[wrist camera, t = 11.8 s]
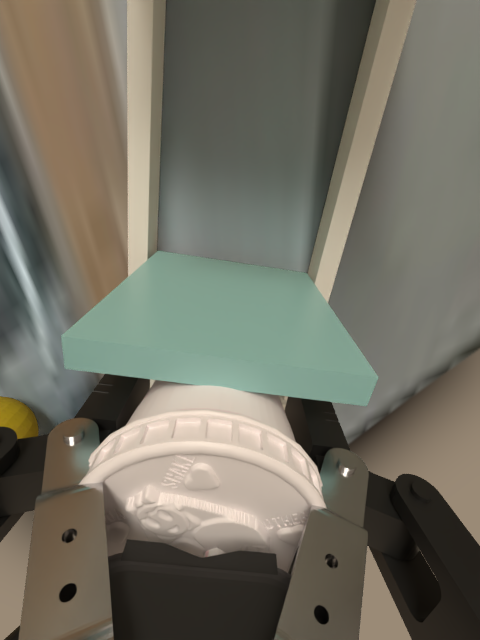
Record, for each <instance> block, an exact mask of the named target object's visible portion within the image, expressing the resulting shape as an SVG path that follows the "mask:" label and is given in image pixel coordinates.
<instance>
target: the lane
mask: <svg viewBox="0 0 480 640" xmlns="http://www.w3.org/2000/svg"><path fill="white" fill-rule="evenodd" d="M415 4H416V0H376V3H375V7H374V11H373V15H372V19H371V23H370V27H369V31H368V35H367V39H366V43H365V47H364V51H363V55H362V59H361V63H360V67H359V71H358V75H357V79H356V82H355V86H354V90H353V94H352V98H351V102H350V106H349V110H348V114H347V118H346V122H345V126H344V130H343V134H342V138H341V142H340V146H339V150H338V154H337V158H336V162H335V166H334V170H333V174H332V178H331V182H330V186H329V190H328V194H327V198H326V202H325V206H324V210H323V214H322V218H321V222H320V226H319V230H318V234H317V238H316V242H315V246H314V250H313V253H312V257H311V261H310V265H309V269H308V273H307V274H308V275H309V277H310V278H311V280H312V281H313V283H314V284H315V285H316V287H317V288H318V290H319V291H320V293H321V294H322V296H323V297H324V299H325V300H326V301H327V303H328V301H329V297H330V294H331V290H332V287H333V284H334V280H335V277H336V273H337V270H338V267H339V263H340V260H341V256H342V253H343V249H344V246H345V243H346V239H347V236H348V232H349V229H350V226H351V222H352V219H353V215H354V212H355V208H356V205H357V202H358V198H359V195H360V191H361V188H362V185H363V181H364V178H365V174H366V171H367V168H368V164H369V161H370V157H371V154H372V150H373V147H374V144H375V140H376V137H377V133H378V130H379V127H380V123H381V120H382V116H383V113H384V109H385V106H386V103H387V99H388V96H389V92H390V89H391V86H392V82H393V79H394V75H395V72H396V68H397V65H398V62H399V58H400V55H401V51H402V48H403V45H404V41H405V38H406V34H407V31H408V27H409V24H410V21H411V17H412V14H413V10H414V7H415ZM165 13H166V0H127V92H128V277H129V276H130V275H131V274H132V273H133V272H134V271H136V270H137V269H138V268H139V267H140V266H141V265H142V264H143V263H145V262H146V261H147V260H148V259H149V258H150V257H151V256H153V255H154V254H155V253H156V252H157V235H158V207H159V179H160V152H161V124H162V96H163V69H164V41H165ZM154 382H155V380H152V379H150V388H151V386H152V385H153V383H154ZM279 397H280V400H281V403H282V405H283V408H284V411H285V406H286V403H287V399H288V396H280V395H279Z"/></svg>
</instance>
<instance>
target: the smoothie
mask: <svg viewBox="0 0 480 640" xmlns="http://www.w3.org/2000/svg"><path fill="white" fill-rule="evenodd" d="M88 461H89V462H90V464H89V466H91V467H90V468H89V470H88V472H87V474H86V476H85V477H84V478H83V479H82V481H81V482H80V483H79V485H81V484H91V483H100V482H103V496H104V510H105V524H106V538H107V552H108V556H111V555H114V554H118V553H123V550H124V547H125V544H126V541H127V539H129V540H140V541H150V542H160V543H166V544H168V545H171V546H173V547H175V548H178V549H180V550H183V551H185V552H188V553H190V554H192V555H195V556H197V557H202V558H204V557H209V556H214V555H219V554H224V553H229V552H234V551H239V550H242V551H252V552H263V553H273V554H276V558H277V568H280V569H282V570H284V571H287V569H288V566H289V563H290V561H291V558H292V556H293V553H294V550H295V548H296V546H297V544H298V541H299V538H300V536H301V533H302V530H303V527H304V524H305V521H306V518H307V516H308V514H309V511H310V509H311V506H312V505H314V506H320V507H324V508H326V505H325V502H324V499H323V495H322V491H321V490H322V488H321V487H322V486H323V484H322V481H321V478H320V474H319V471H318V468H317V466H316V465H315V463H314V462H313V461H312V459H311V458H310V457H309V456H308V454H307V453H306V452H305V451H304V449H303V448H302V447H301V446H300V445H299V444H298V443H296V441H295V438H294V435H293V432H292V429H291V426H290V424H289V421H288V419H287V416H286V414H285V411H284V408H283V405H282V403H281V400H280V397H279V395H272V394H264V393H256V392H248V391H240V390H236V389H232V388H227V387H221V386H209V385H192V384H184V383H176V382H168V381H160V380H155V382H154V383H153V385H152V386H151V388H150V389H149V391H148V392H147V394H146V395H145V397H144V399H143V400H142V402H141V403H140V404H139V406H138V407H137V408H136V410H135V411H134V413H133V415H132V416H131V418H130V419H129V421H128V423H127V424H126V426H124V427H122V428H120V429H119V430H117V431H115V432H113V433H112V434H110V435H109V436H108V437H107V438H106V439H105V440H104V441H103V442H102V443H101V444H100V445H99V446H98V447H97V448H96V449H95V450H94V452H93V453H92V454H91V455H90V458H89V460H88ZM326 509H327V508H326Z"/></svg>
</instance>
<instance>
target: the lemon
mask: <svg viewBox="0 0 480 640" xmlns="http://www.w3.org/2000/svg"><path fill="white" fill-rule="evenodd" d="M0 427H8V428H11V429H13V430H14V431H15V432H16V434H17V438H18V439H21V438H29V437H36V436H38V424H37V419H36V417H35V415H34V413H33V412H32V411H31V409H30V408H29V407H27V406H26V405H25V404H24V403H22V402H20V401H18V400H15V399H12V398H8V397H0Z"/></svg>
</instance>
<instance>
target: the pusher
mask: <svg viewBox="0 0 480 640" xmlns="http://www.w3.org/2000/svg"><path fill="white" fill-rule="evenodd" d="M61 339H62V348H63V357H64V366H65V369H72V370H80V371H88V372H96V373H104V374H112V375H120V376H128V377H136V378H144V379H152V380H160V381H168V382H176V383H184V384H192V385H209V386H221V387H227V388H232V389H236V390H240V391H248V392H256V393H264V394H272V395H280V396H288V397H296V398H304V399H312V400H320V401H328V402H337V403H345V404H353V405H361V406H367V404H368V402H369V400H370V397H371V395H372V392H373V390H374V387H375V385H376V383H377V380H378V378H379V377H378V376H377V374H376V373H375V372H374V370H373V369H372V367H371V366H370V364H369V363H368V361H367V360H366V358H365V357H364V355H363V354H362V353H361V351H360V350H359V348H358V347H357V345H356V344H355V342H354V341H353V339H352V338H351V337H350V335H349V334H348V332H347V331H346V329H345V328H344V326H343V325H342V323H341V322H340V320H339V319H338V318H337V316H336V315H335V313H334V312H333V310H332V309H331V307H330V306H329V304H328V303H327V301H326V300H325V299H324V297H323V296H322V294H321V293H320V291H319V290H318V288H317V287H316V285H315V284H314V283H313V281H312V280H311V278H310V277H309V275H308V274H307V273H304V272H297V271H291V270H284V269H277V268H270V267H264V266H257V265H250V264H244V263H237V262H230V261H224V260H217V259H210V258H204V257H197V256H190V255H184V254H177V253H170V252H164V251H157V252H156V253H155V254H154V255H153V256H151V257H150V258H149V259H148V260H147V261H146V262H145V263H143V264H142V265H141V266H140V267H139V268H138V269H137V270H136V271H134V272H133V273H132V274H131V275H130V276H129V277H128V278H126V279H125V280H124V281H123V282H122V283H121V284H120V285H119V286H117V287H116V288H115V289H114V290H113V291H112V292H111V293H109V294H108V295H107V296H106V297H105V298H104V299H103V300H102V301H100V302H99V303H98V304H97V305H96V306H95V307H94V308H92V309H91V310H90V311H89V312H88V313H87V314H86V315H85V316H83V317H82V318H81V319H80V320H79V321H78V322H77V323H75V324H74V325H73V326H72V327H71V328H70V329H69V330H68V331H66V332H65V333H64V334H63V335H62V336H61Z"/></svg>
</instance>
